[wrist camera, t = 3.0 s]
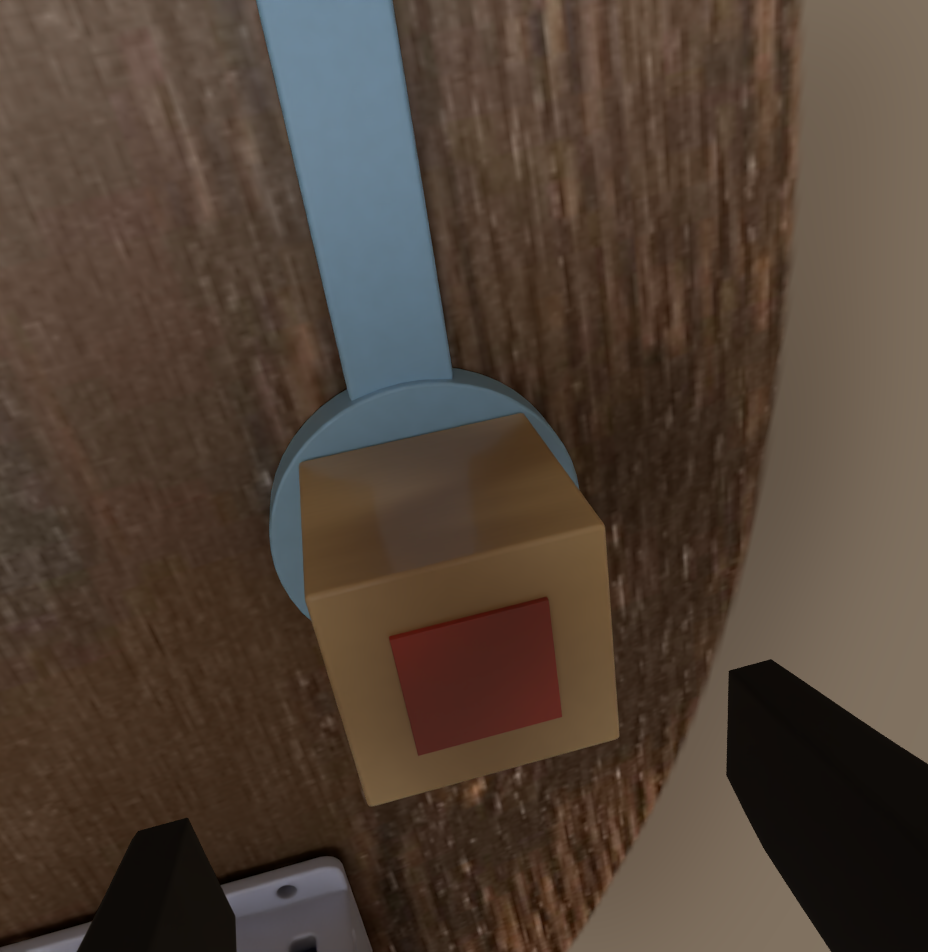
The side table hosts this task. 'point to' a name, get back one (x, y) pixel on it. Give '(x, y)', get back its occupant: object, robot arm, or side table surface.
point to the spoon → (366, 252)
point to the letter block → (458, 605)
